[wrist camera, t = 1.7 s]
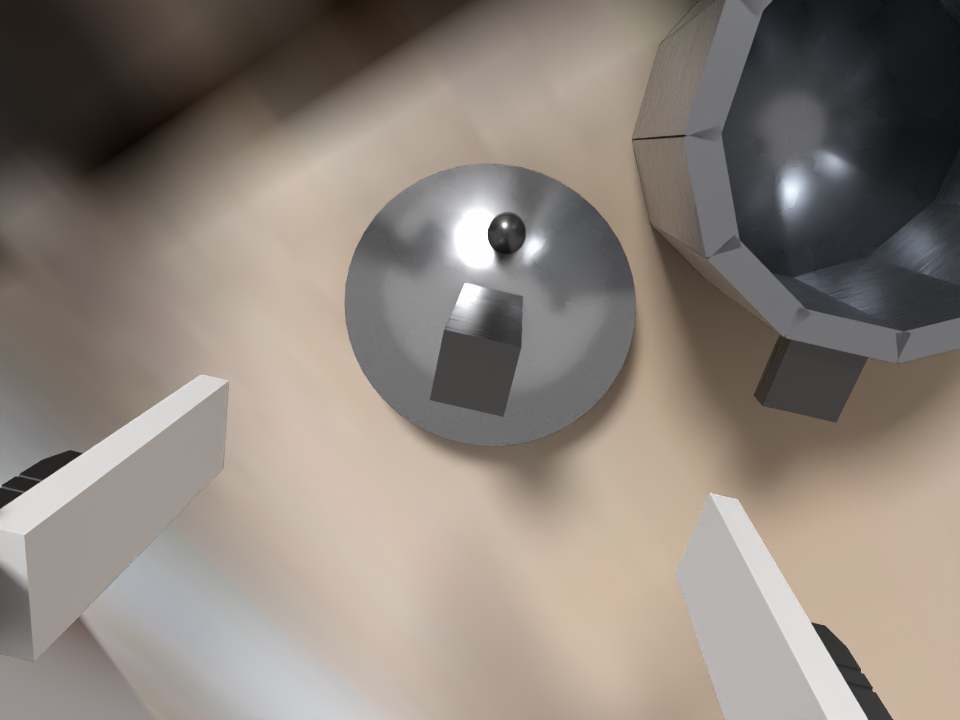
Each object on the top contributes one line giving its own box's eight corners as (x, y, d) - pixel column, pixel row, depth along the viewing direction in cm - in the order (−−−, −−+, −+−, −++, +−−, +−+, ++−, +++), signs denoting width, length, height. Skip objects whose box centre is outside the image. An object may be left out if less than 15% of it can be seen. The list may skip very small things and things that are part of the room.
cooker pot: (583, 308, 32) (606, 375, 22) (727, -192, 24) (855, -409, 15) (866, 373, 32) (1008, 468, 22) (1102, -105, 24) (1469, -266, 15)
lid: (342, 394, 35) (269, 492, 25) (379, 133, 30) (305, 125, 20) (584, 449, 35) (607, 569, 25) (664, 198, 30) (734, 224, 20)
